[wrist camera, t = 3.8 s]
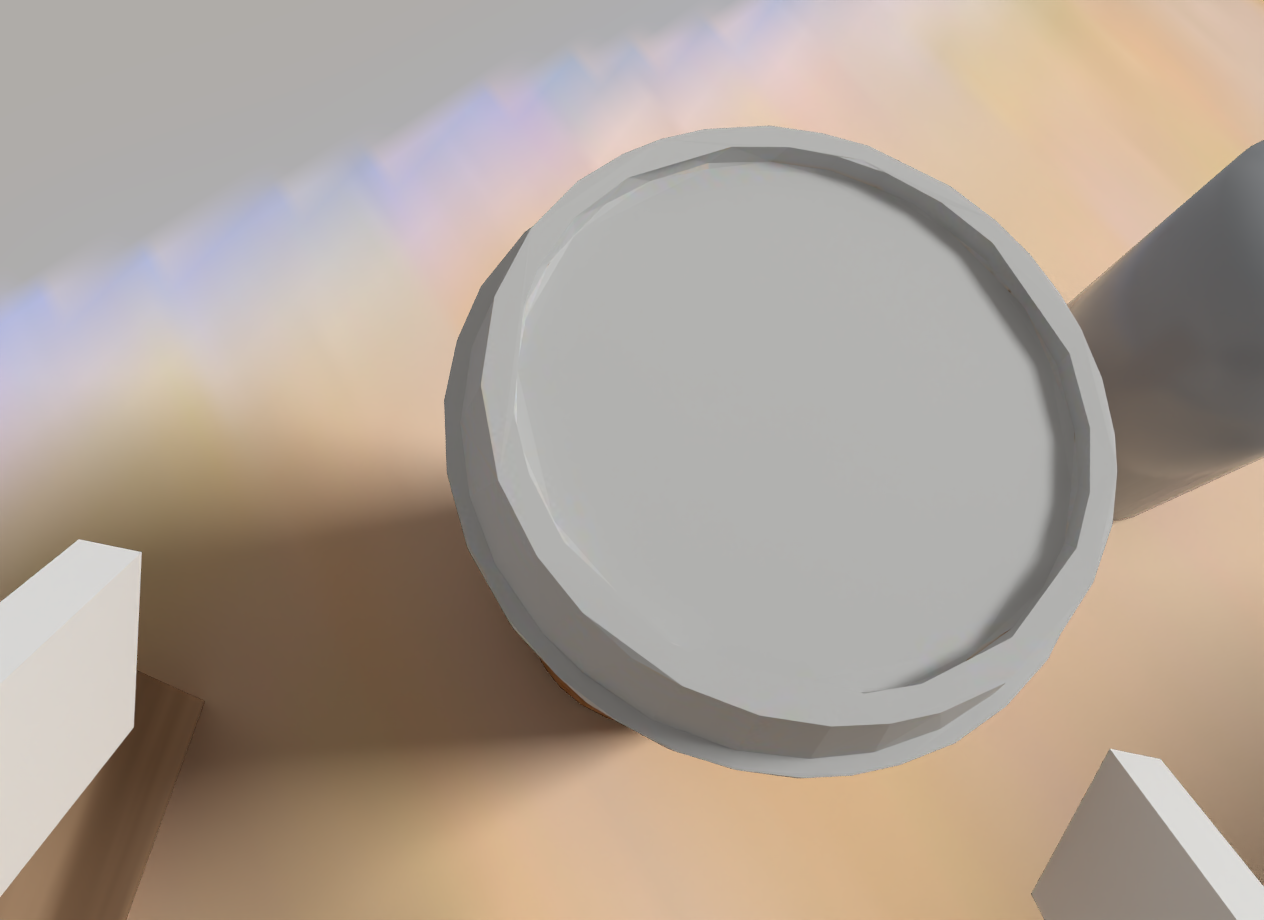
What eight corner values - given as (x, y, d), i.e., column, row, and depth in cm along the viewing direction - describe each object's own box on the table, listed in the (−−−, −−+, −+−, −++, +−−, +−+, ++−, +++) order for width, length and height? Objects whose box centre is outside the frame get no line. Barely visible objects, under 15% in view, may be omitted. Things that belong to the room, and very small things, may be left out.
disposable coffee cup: (373, 599, 22) (270, 369, 11) (637, 360, 25) (764, 3, 14) (663, 892, 20) (891, 976, 9) (898, 596, 24) (1263, 402, 13)
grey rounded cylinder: (1169, 362, 28) (1456, 174, 20) (1181, 541, 26) (1513, 411, 18) (990, 317, 28) (1210, 105, 20) (987, 495, 25) (1234, 339, 17)
